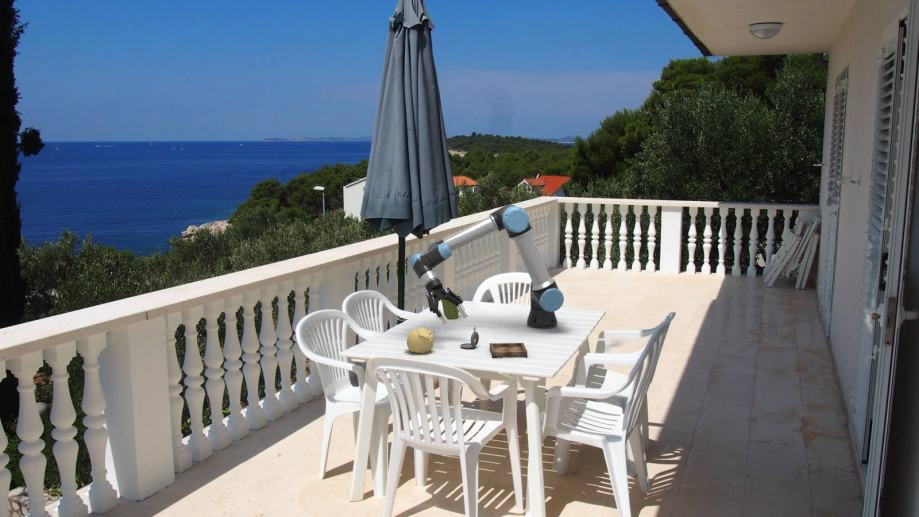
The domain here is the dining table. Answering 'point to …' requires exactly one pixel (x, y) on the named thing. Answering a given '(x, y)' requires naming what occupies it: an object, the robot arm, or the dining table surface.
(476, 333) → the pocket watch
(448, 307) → the plant pot
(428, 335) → the yellow lumpy ball
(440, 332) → the dining table surface
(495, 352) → the walnut tray
